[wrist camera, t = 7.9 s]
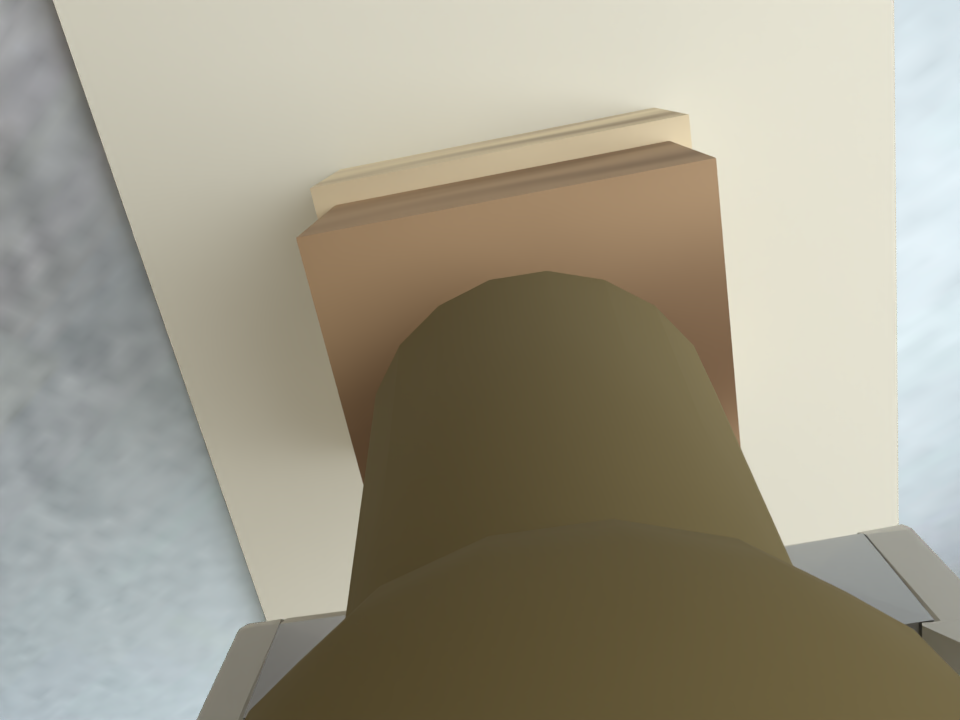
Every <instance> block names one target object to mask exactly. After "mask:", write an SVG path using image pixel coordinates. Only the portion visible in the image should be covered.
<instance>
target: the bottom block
mask: <svg viewBox="0 0 960 720" xmlns="http://www.w3.org/2000/svg"><path fill="white" fill-rule="evenodd" d="M666 141H671V142H674V143H677V144H680V145H682V146H685V147H688V148H690V149H692V141H691V131H690V120H689V114H685V113H680V112H674V111H669V110H664V109H659V108H650V109H645V110H640V111H635V112H630V113H625V114H620V115H615V116H609V117H604V118H599V119H594V120H589V121H584V122H579V123H574V124H569V125H564V126H559V127H553V128H548V129H543V130H538V131H533V132H528V133H523V134H518V135H513V136H508V137H502V138H497V139H492V140H487V141H482V142H477V143H472V144H467V145H462V146H457V147H452V148H446V149H441V150H436V151H431V152H426V153H421V154H416V155H411V156H406V157H401V158H396V159H390V160H385V161H380V162H375V163H370V164H365V165H360V166H355V167H350V168H345V169H340V170H339V171H337V172H335V173H334V174H332V175H330V176H329V177H327V178H326V179H324V180H322V181H321V182H319V183H318V184H316V185H314V186H313V187H311V188H310V191H311V195H312V199H313V203H314V206H315V210H316V214H317V218H318V219H319V218H320V217H322V216H323V215H324V214H325V213H327V212H328V211H329V210H330V209H331V208H333V207H334V206H335V205H339V204H344V203H349V202H354V201H360V200H365V199H370V198H375V197H380V196H386V195H391V194H396V193H401V192H406V191H412V190H417V189H422V188H427V187H432V186H437V185H443V184H448V183H453V182H458V181H463V180H469V179H474V178H479V177H484V176H489V175H495V174H500V173H505V172H510V171H515V170H520V169H526V168H531V167H536V166H541V165H546V164H552V163H557V162H562V161H567V160H572V159H578V158H583V157H588V156H593V155H598V154H603V153H609V152H614V151H619V150H624V149H629V148H635V147H640V146H645V145H650V144H655V143H661V142H666Z"/></svg>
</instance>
